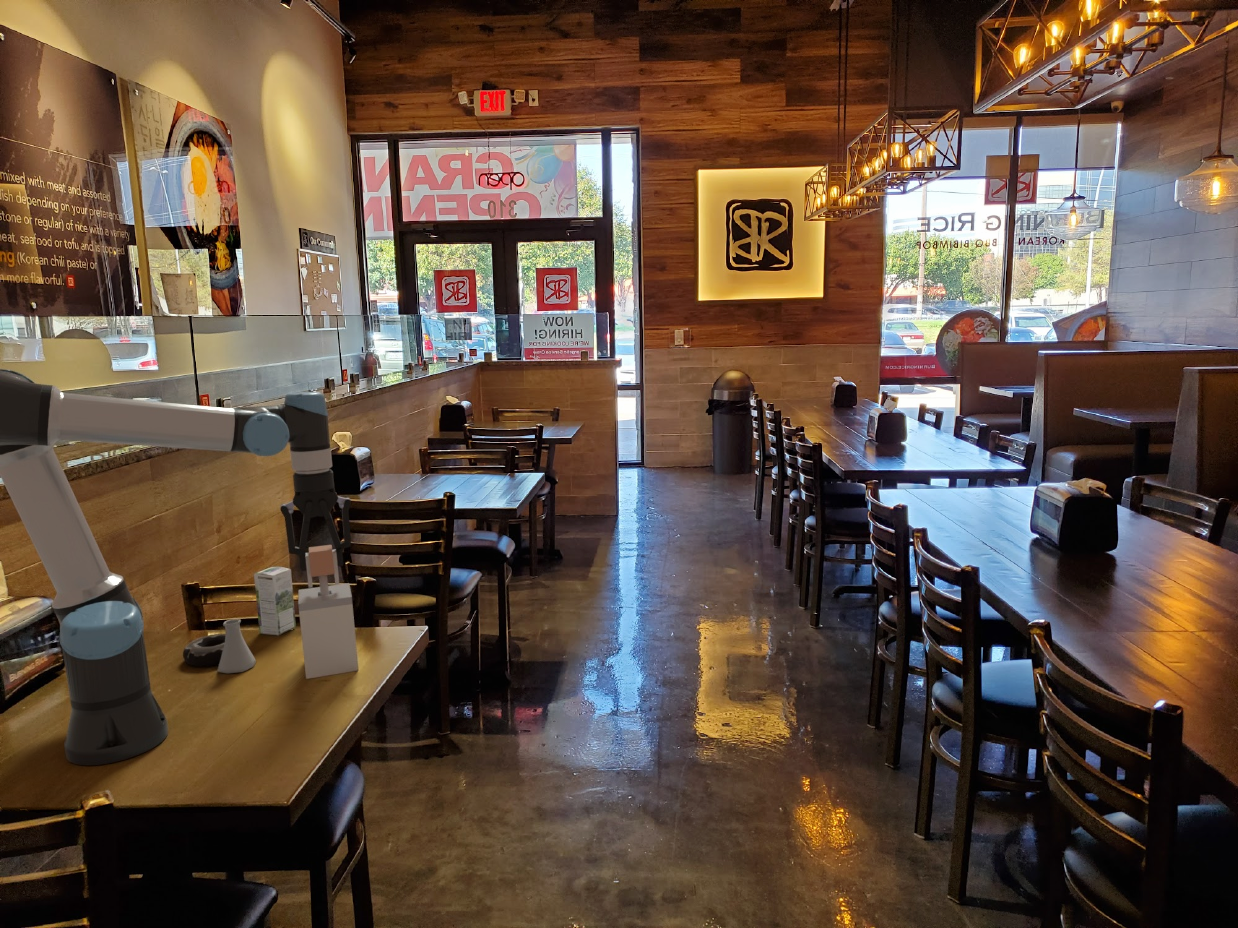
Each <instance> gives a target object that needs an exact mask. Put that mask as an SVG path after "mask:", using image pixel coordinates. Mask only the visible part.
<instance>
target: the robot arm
mask: <svg viewBox="0 0 1238 928" xmlns="http://www.w3.org/2000/svg"><path fill="white" fill-rule="evenodd" d="M329 427H330V426H329V413H328V408H327V402H326V397H325V395H324V394H323V393H322V392H319V391H301V392H299V391H297V392H291V393H287V394H286V395H285V396H284V403H280V404H275V405H263V406H262V405H261V406H245V407H244V406H243V407H240V406H237V407H234V408H228V407H219V406H218V407H216V406H208V405H194V404H184V403H174V402H165V401H164V402H163V401H153V400H143V399H142V400H141V399H135V398H134V399H131V398H124V397H123V398H122V397H121V398H120V397H111V396H100V395H92V394H91V395H89V394H80V393H79V394H78V393H70V392H69V393H68V392H62V390H61V389H59V388H58V386H56V385H52V384H41V383H35V382H34V381H33V380H31V378H30V377H28V376H26V375H24V374H23V373H20V372H17V371H15V370H11V369H4V368H0V478H1V481H2V483H3V484H4V487H5V488H6V490H7V493H8V495H9V496H10V497H9V498H10V499H11V501H12V503H13V505H14V507H15V510H16V511H17V514H18V515H19V518H20V519H21V522H22V524H23V526H24V527H25V530H26V532H27V534H28V536H29V538H30V540H31V543H32V545H33V546H34V548H35V551H36V552H37V555H38V557H39V558H40V561H41V562H42V563H41V564H42V566H43V567H44V569H45V572H46V573H47V576H48V578H49V580H50V581H51V584H52V586H53V587H54V589H55V592H56V595H55V597H54V599H53V601H52V603H51V607H52V609H53V611H54V614H55V615H56V618H57V619H58V622H59V624H60V626H59V631H60V632H59V644H60V646H61V648H62V653H63V654H62V655H63V661H64V666H65V668H64V669H65V674H66V680H67V686H68V687H67V689H68V693H69V694H68V695H69V699H70V700H69V701H70V705H71V706H70V707H71V708H70V709H71V712H70V717H69V722H68V726H67V732H66V737H65V739H64V742H63V744H64V746H63V748H64V753H65V758H66V760H67V761H68V762H69V763H71V764H74V765H78V766H101V765H107V764H111V763H116V762H117V763H118V762H120V761H125V760H128V759H130V758H134V757H136V756H140V755H141V754H144V753H145V752H148V751H150V750H153V748H155V747H157V746H158V745H159V744H160V743H162V742H163V741H164V740H166V738H167V736H168V734H169V727H168V721H167V717H166V715H165V714H164V712H163V710H162V708H161V707H160V705H159V702H158V701H157V699H156V697H155V695H154V694H153V693H152V688H151V687H152V686H151V681H150V672H149V666H148V659H147V651H146V643H145V636H144V635H145V634H144V626H145V625H144V619H143V617H144V616H143V611H142V609H141V606H140V605H139V603H138V602H137V601H136V599H135V597H133V595H132V593H131V592H130V590H129V587H128V585H127V583H126V581H125V579H124V576H123V575H121V574H117V573H114V572H112V571H110V569H109V566H108V564H107V563H106V560H105V559H104V556H103V554H102V552H101V549H100V547H99V545H98V542H97V541H96V538H95V536H94V534H93V532H92V530H91V527H90V526H89V524H88V522H87V519H86V517H85V514H84V513H83V511H82V508H81V506H80V504H79V502H78V500H77V497H76V496H75V494H74V491H73V489H72V487H71V485H70V482H69V481H68V478H67V476H66V474H65V471H64V470H63V467H62V466H61V462H60V460H59V459H58V456H57V454H56V453H55V450H54V448H55V447H54V446H55V445H56V443H57V442H59V441H69V442H82V443H83V442H84V443H85V442H86V443H96V444H97V443H98V444H99V443H101V444H115V445H130V446H132V445H133V446H141V447H142V446H143V447H144V446H145V447H147V446H148V447H159V448H160V447H161V448H162V447H163V448H175V449H188V450H190V449H192V450H202V451H203V450H207V451H208V450H209V451H220V452H222V451H223V452H232V453H233V452H234V453H243V454H244V453H245V454H254V455H257V456H258V457H272V456H275V455H277V454H279V453H281V452H282V451H283V450H284V449H285V448H286V447H287V446H288V443H289V451H290V463H291V468H292V471H294V472H293V474H292V480H293V481H292V482H293V490H294V491H293V492H294V496H293V497H292V500H291V501H289V502H287V503H281V505H280V507H279V508H280V512H281V514H282V515H283V517H284V522H285V523H284V524H285V531H286V532H285V533H286V538H287V539H286V541H287V546H288V547H287V548H288V553H289V554H290V555H297V556H298V558H299V567H300V568H299V569H300V571H301V572H306V574H307V575H306V576H307V587H308V588H314V587H313V577H311V569H310V559H309V552H306V551H307V544H308V536H309V532H310V531H309V530H310V524H311V519H312V518H316V517H321V518H323V517H324V520H325V522H326V526H327V528H328V532H329V534H330V537H331V540H332V542H333V545H334V549H332V552H333V563H334V573H335V574H333V575H334V585H339V584H340V578H339V577H340V576H339V575H340V574H339V567H343V566H344V555H343V550H345V549H347V548H351V545H352V540H351V537H352V536H351V527H350V526H351V525H350V524H351V523H350V513H349V512H350V507H351V504H352V501H351V498H350V497H348V496H347V497H343V496H338V493H337V492H336V489H335V481H334V478H335V477H334V471H333V470H332V469H331V468H332V467H333V460H332V459H333V458H332V447H331V440H330V428H329ZM336 503H338V506H339V508H340V509H341V516H342V517H341V518H342V528H343V531H342V532H343V541H341V540H340V537H339V534H338V531H337V529H336V525H335V522H334V520H333V517H332V514H331V511H332V509H333V507H334V506H335V505H336ZM295 507H296V508H297V510H299V512H301V514H302V515H303V519H302V526H301V532H300V533H301V534H300V541H299V546H296V543H295V535H294V533H295V531H294V526H293V525H294V524H293V517H292V514H293V513H294V508H295Z"/></svg>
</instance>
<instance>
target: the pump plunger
mask: <svg viewBox="0 0 1238 928" xmlns="http://www.w3.org/2000/svg"><path fill="white" fill-rule="evenodd" d="M332 550H333V546H332V544H327V545H325V544H324V545H318V546H317V545H316V546H310V547H308V553H309V559H310V569H311V577H312V578H314V577H318V581H319V587H320V593H321V596H322V595H329V589H328V586H329V580H328V576H330V575H334V574H335V573H334V563H333V552H332Z"/></svg>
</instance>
